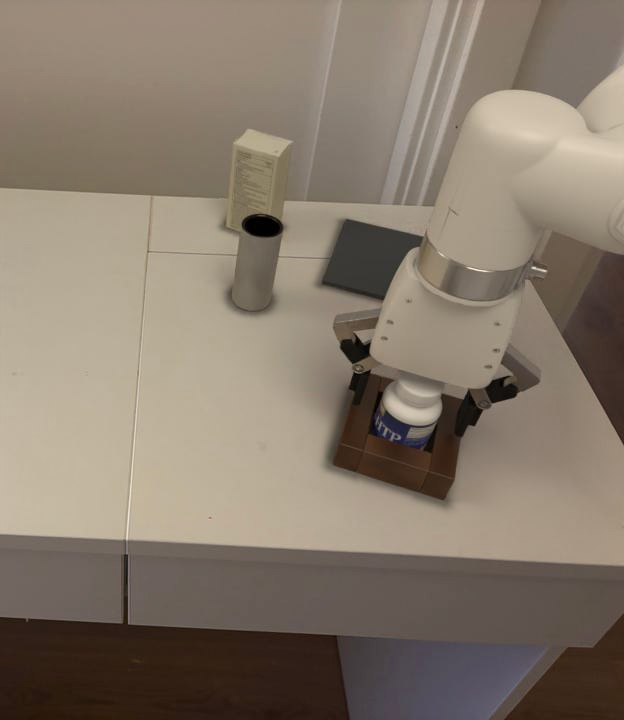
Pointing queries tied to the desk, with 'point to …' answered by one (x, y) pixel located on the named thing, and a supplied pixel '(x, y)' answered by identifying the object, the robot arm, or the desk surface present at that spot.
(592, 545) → the desk surface
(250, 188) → the cosmetic box
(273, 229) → the grey hollow tube
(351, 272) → the mat
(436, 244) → the robot arm
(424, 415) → the pill bottle
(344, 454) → the holder
